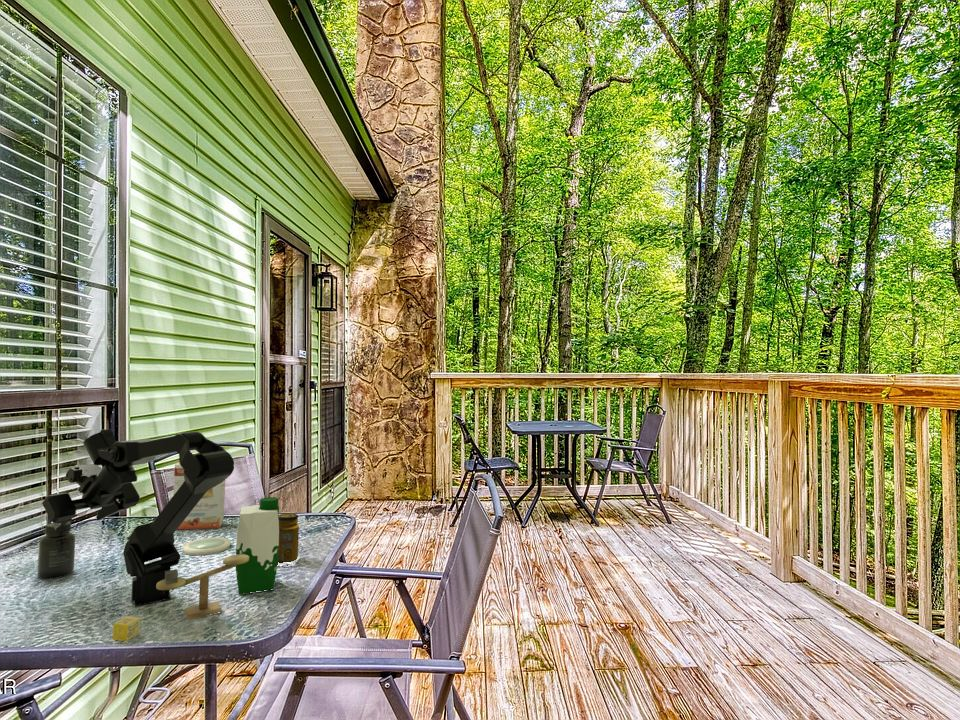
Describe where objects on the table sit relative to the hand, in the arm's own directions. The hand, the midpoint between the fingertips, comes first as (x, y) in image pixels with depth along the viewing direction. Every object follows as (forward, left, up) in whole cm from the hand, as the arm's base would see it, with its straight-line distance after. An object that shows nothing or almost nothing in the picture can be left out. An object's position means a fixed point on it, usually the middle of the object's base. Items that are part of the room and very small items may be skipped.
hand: (77, 523), depth 123 cm
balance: (-22, +37, -13) cm, 45 cm away
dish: (-29, -8, -13) cm, 33 cm away
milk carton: (-34, +29, -13) cm, 47 cm away
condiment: (-44, +15, -13) cm, 49 cm away
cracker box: (-30, -33, -13) cm, 47 cm away
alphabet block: (-9, +40, -13) cm, 43 cm away
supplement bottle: (+4, -6, -13) cm, 15 cm away
